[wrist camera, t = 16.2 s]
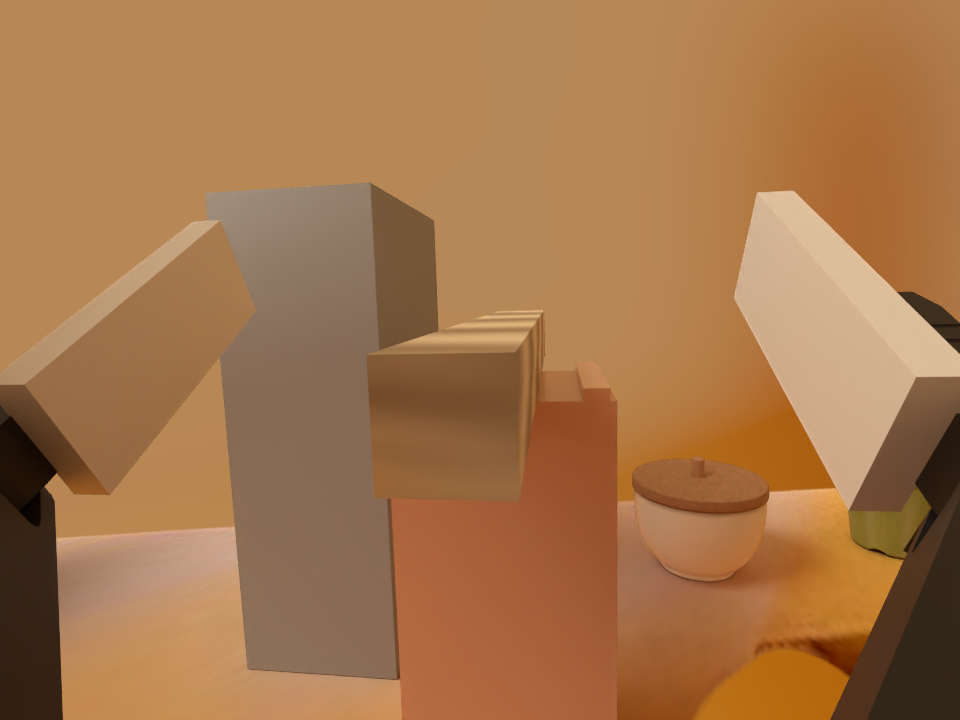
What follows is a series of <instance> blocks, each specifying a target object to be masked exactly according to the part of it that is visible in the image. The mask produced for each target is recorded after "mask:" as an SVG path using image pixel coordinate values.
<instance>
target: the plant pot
mask: <svg viewBox="0 0 960 720" xmlns="http://www.w3.org/2000/svg"><path fill="white" fill-rule="evenodd" d="M930 508H931V506H930V505H929V503H928V502H927V500H926V499H925V498H924V496H923V495H922V493H921V492H920V490H919V489H918V487H917V486H916V487H915V489H914V491H913V492H912V494H911V496H910V497H909V499H908V501H907V502H906V504H905V506H904V507H903V509H902V511H901V512H885V511H848V513H849V522H850V531H851V537H852V539H853V540H854V541H855V542H857V543H858V544H859V545H861V546H863V547H865V548H867V549H878V550H880V551H882V552H884V553H885V554H887V555H889V556H893V557H897V558H905V557H906V555H907V553H906V552H904V551H903V550H904V548H905V547H906V545H907V544H908V542H909V541H910V539H911V538H912V536H913V534H914V533H915V531H916V530H917V528H918V527H919V525H920V524H921V522H922V521H923V519H924V518H925V516H926V514H927V513H928V511H929V510H930Z"/></svg>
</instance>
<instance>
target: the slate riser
mask: <svg viewBox="0 0 960 720" xmlns="http://www.w3.org/2000/svg"><path fill="white" fill-rule="evenodd" d="M205 195H206V206H207V217H208V221H214V220H221V223H222V225H223V228H224V230H225V233H226V235H227V238H228V241H229V243H230V246H231V248H232V251H233V253H234V256H235V258H236V261H237V263H238V266H239V268H240V271H241V273H242V276H243V278H244V281H245V283H246V286H247V288H248V291H249V293H250V296H251V298H252V301H253V303H254V306H255V308H256V312H255V313H254V315H253V316H252V317H251V318H250V320H249V321H248V322H247V323H246V325H245V326H244V327H243V328H242V330H241V331H240V332H239V333H238V335H237V336H236V337H235V338H234V340H233V341H232V342H231V343H230V345H229V346H228V347H227V348H226V350H225V351H224V352H223V353H222V355H221V356H220V364H221V375H222V386H223V397H224V408H225V420H226V429H227V441H228V453H229V464H230V476H231V487H232V497H233V498H232V499H233V510H234V521H235V532H236V544H237V555H238V566H239V577H240V589H241V600H242V611H243V622H244V634H245V645H246V656H247V667H248V669H259V670H273V671H287V672H301V673H314V674H328V675H342V676H356V677H370V678H384V679H397V678H398V675H399V673H400V663H399V644H398V625H397V605H396V586H395V567H394V548H393V529H392V510H391V499H389V498H374V482H373V464H372V447H371V429H370V411H369V393H368V375H367V357H366V355H367V354H370V353H373V352H376V351H379V350H382V349H385V348H388V347H391V346H394V345H397V344H400V343H404V342H407V341H410V340H413V339H416V338H419V337H422V336H425V335H428V334H431V333H434V332H437V331H438V308H437V283H436V258H435V233H434V221H433V220H432V219H430V218H429V217H427V216H425V215H424V214H422V213H420V212H418V211H417V210H415V209H413V208H412V207H410V206H409V205H407V204H405V203H403V202H402V201H400V200H398V199H397V198H395V197H393V196H392V195H390V194H388V193H386V192H385V191H383V190H381V189H380V188H378V187H376V186H375V185H373V184H371V183H360V184H344V185H328V186H312V187H296V188H280V189H264V190H250V191H249V190H248V191H231V192H216V193H206V194H205Z"/></svg>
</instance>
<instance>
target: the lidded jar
mask: <svg viewBox="0 0 960 720" xmlns="http://www.w3.org/2000/svg"><path fill="white" fill-rule="evenodd" d="M632 484H633V488H634V510H635V517H636V521H637V526H638V529H639V532H640V534H641V537H642V539H643V541H644V542H645V544H646V546H647V547H648V548H649V550H650V551H651V552H652V553H653V554H654V555H655V556H656V557H657V558H658V559H659V561H660V563H661V565H662V566H663V567H664V568H665V569H666V570H668V571H669V572H671V573H673V574H675V575H677V576H680V577H683V578H686V579H690V580H695V581H702V582H716V581H722V580H725V579H728V578H730V577H731V576H732V575H733V574H734V573H735V571H736V570H738V569H740V568H741V567H743V566H744V565H745V564H746V563H748V562H749V560H750V559H751V558H752V557H753V556H754V555H755V553H756V551H757V549H758V548H759V545H760V543H761V540H762V537H763V534H764V529H765V524H766V514H767V501H768V499H769V485H768V484H767V482H766V481H765V480H764V479H763V478H762V477H761V476H759V475H757V474H756V473H753V472H751V471H749V470H746V469H744V468H741V467H737V466H734V465H730V464H725V463H720V462H715V461H707V460H705V459H704V458H701V457H692V459H666V460H658V461H653V462H649V463H646V464H643V465H641V466H639V467H637V468H636V469H635V471H634V472H633V475H632Z"/></svg>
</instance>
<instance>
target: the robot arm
mask: <svg viewBox="0 0 960 720" xmlns="http://www.w3.org/2000/svg"><path fill="white" fill-rule="evenodd" d="M734 299H735V300H736V302H737V304H738V306H739V308H740V310H741V312H742V313H743V315H744V317H745V319H746V321H747V323H748V325H749V327H750V328H751V330H752V332H753V334H754V336H755V338H756V339H757V341H758V343H759V345H760V347H761V349H762V351H763V352H764V355H765V356H766V358H767V360H768V362H769V364H770V366H771V367H772V369H773V371H774V373H775V375H776V377H777V378H778V381H779V382H780V384H781V386H782V388H783V390H784V392H785V394H786V395H787V397H788V399H789V401H790V403H791V405H792V407H793V408H794V410H795V412H796V414H797V416H798V418H799V419H800V421H801V423H802V425H803V427H804V429H805V431H806V433H807V435H808V436H809V438H810V440H811V442H812V444H813V446H814V448H815V449H816V451H817V453H818V455H819V457H820V459H821V461H822V462H823V464H824V466H825V468H826V470H827V472H828V474H829V475H830V477H831V479H832V481H833V483H834V485H835V487H836V488H837V490H838V492H839V494H840V496H841V498H842V500H843V501H844V503H845V505H846V507H847V509H848V511H885V512H901V511H902V509H903V507H904V506H905V504H906V502H907V501H908V499H909V497H910V496H911V494H912V492H913V491H914V489H915V487H916V486H917V487H918V489H919V490H920V492H921V493H922V495H923V496H924V498H925V499H926V500H927V502H928V503H929V505H930V506H931V508H930V510H929V511H928V513H927V514H926V516H925V518H924V519H923V521H922V522H921V524H920V525H919V527H918V528H917V530H916V531H915V533H914V534H913V536H912V538H911V539H910V541H909V542H908V544H907V545H906V547H905V548H904V550H903V551H904V552H906V553H907V555H906V557H905V559H904V561H903V564H902V566H901V568H900V570H899V572H898V574H897V577H896V579H895V581H894V583H893V585H892V587H891V590H890V592H889V594H888V596H887V598H886V600H885V603H884V605H883V607H882V609H881V611H880V613H879V615H878V618H877V620H876V622H875V624H874V626H873V628H872V631H871V633H870V635H869V637H868V639H867V641H866V644H865V646H864V648H863V650H862V652H861V654H860V657H859V659H858V661H857V663H856V665H855V667H854V670H853V672H852V674H851V676H850V678H849V680H848V683H847V685H846V687H845V689H844V691H843V693H842V696H841V698H840V700H839V702H838V704H837V706H836V709H835V711H834V713H833V715H832V718H831V720H960V323H959V322H958V321H957V320H956V319H954V318H953V317H952V316H951V315H950V314H949V313H948V312H947V311H946V310H945V309H944V308H942V307H941V306H939V305H937V304H935V303H933V302H932V301H930V300H928V299H926V298H923V297H922V296H920V295H918V294H916V293H914V292H896V291H895V290H894V289H893V288H892V287H891V286H890V285H889V284H888V283H887V282H886V281H885V280H884V279H883V278H882V277H881V276H880V275H878V273H876V271H874V270H873V269H872V268H871V267H870V266H869V265H868V264H867V263H866V262H865V261H864V260H863V259H862V258H861V257H860V256H859V255H858V254H857V253H856V252H855V251H854V250H853V249H852V248H851V247H850V246H849V245H848V244H847V243H846V242H845V241H844V240H843V239H842V238H841V237H840V236H839V235H838V234H837V233H836V232H835V231H834V230H833V229H832V228H831V227H830V226H828V224H827V223H826V222H824V220H823V219H821V217H819V215H817V214H816V213H815V212H814V211H813V210H812V209H811V208H810V207H809V206H808V205H807V204H806V203H805V202H804V201H803V200H802V199H801V198H800V197H799V196H798V195H797V194H796V193H795V192H794V191H780V192H760V193H757V197H756V201H755V205H754V210H753V214H752V219H751V223H750V228H749V232H748V238H747V241H746V246H745V250H744V255H743V259H742V264H741V269H740V273H739V278H738V282H737V287H736V291H735V296H734ZM255 312H256V308H255V306H254V303H253V301H252V298H251V296H250V293H249V291H248V288H247V286H246V283H245V281H244V278H243V276H242V273H241V271H240V268H239V266H238V263H237V261H236V258H235V256H234V253H233V251H232V248H231V246H230V243H229V241H228V238H227V235H226V233H225V230H224V228H223V225H222V223H221V220H214V221H196V222H192V223H191V224H189V225H188V226H187V227H186V228H185V229H183V230H182V231H181V232H179V233H178V234H177V235H175V236H174V237H173V238H171V239H170V240H169V241H168V242H166V243H165V244H164V245H163V246H161V247H160V248H159V249H157V250H156V251H155V252H153V253H152V254H151V255H150V256H148V257H147V258H146V259H144V260H143V261H142V262H141V263H139V264H138V265H137V266H135V268H133V269H132V270H130V271H129V272H128V273H126V274H125V275H124V276H123V277H121V278H120V279H119V280H118V281H116V282H115V283H114V284H113V285H111V286H110V287H108V288H107V289H106V290H105V291H103V292H102V293H101V294H99V295H98V296H97V297H96V298H94V299H93V300H92V301H90V302H89V303H88V304H87V305H85V306H84V307H83V308H81V309H80V310H79V311H78V312H76V313H75V314H74V315H72V316H71V317H70V318H69V319H67V320H66V321H65V322H64V323H62V324H61V325H60V326H58V327H57V328H56V329H54V330H53V331H52V332H51V333H49V334H48V335H47V336H45V337H44V338H43V339H42V340H40V341H39V342H38V343H36V344H35V345H34V346H33V347H31V348H30V349H29V350H27V351H26V352H25V353H24V354H22V355H21V356H20V357H18V358H17V359H16V360H15V361H13V362H12V363H11V364H9V365H8V366H7V367H6V368H4V369H3V370H2V371H0V720H63V711H62V685H61V658H60V632H59V606H58V579H57V553H56V527H55V502H54V499H53V497H52V495H51V494H50V493H49V492H48V490H47V489H46V488H45V487H44V486H45V485H46V484H47V483H48V482H49V481H50V480H51V479H52V477H54V475H55V474H56V473H57V474H58V475H59V476H60V478H61V479H62V480H63V481H64V482H65V484H66V485H67V486H68V487H69V488H70V490H71V491H72V492H73V493H74V494H90V495H110V494H111V493H112V492H113V490H114V489H115V488H116V487H117V485H118V484H119V483H120V482H121V480H122V479H123V478H124V476H125V475H126V474H127V473H128V471H129V470H130V469H131V468H132V466H133V465H134V464H135V463H136V462H137V460H138V459H139V458H140V456H141V455H142V454H143V453H144V451H145V450H146V449H147V447H148V446H149V445H150V444H151V443H152V441H153V440H154V439H155V438H156V436H157V435H158V434H159V433H160V431H161V430H162V429H163V428H164V426H165V425H166V424H167V422H168V421H169V420H170V419H171V417H172V416H173V415H174V414H175V413H176V411H177V410H178V409H179V407H180V406H181V405H182V404H183V402H184V401H185V400H186V399H187V397H188V396H189V395H190V394H191V392H192V391H193V390H194V389H195V387H196V386H197V385H198V384H199V382H200V381H201V380H202V379H203V377H204V376H205V375H206V373H207V372H208V371H209V370H210V369H211V367H212V366H213V365H214V363H215V362H216V361H217V360H218V358H219V357H220V356H221V355H222V353H223V352H224V351H225V350H226V348H227V347H228V346H229V345H230V343H231V342H232V341H233V340H234V338H235V337H236V336H237V335H238V333H239V332H240V331H241V330H242V328H243V327H244V326H245V325H246V323H247V322H248V321H249V320H250V318H251V317H252V316H253V315H254V313H255Z"/></svg>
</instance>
